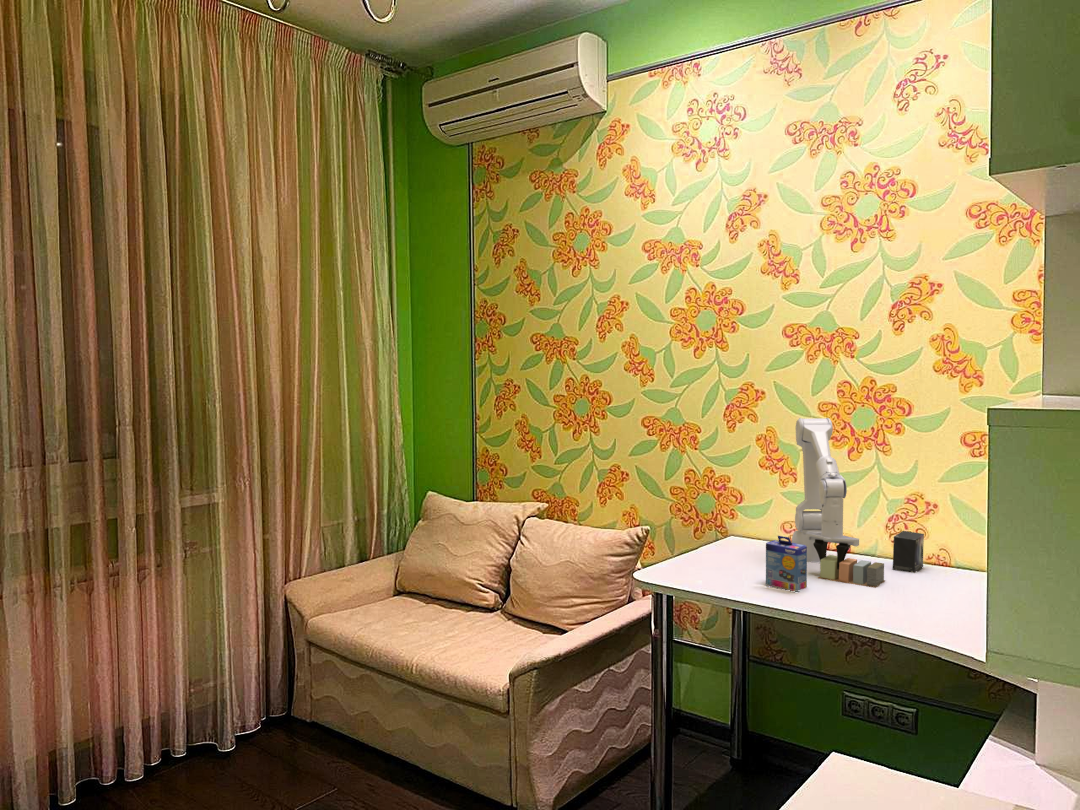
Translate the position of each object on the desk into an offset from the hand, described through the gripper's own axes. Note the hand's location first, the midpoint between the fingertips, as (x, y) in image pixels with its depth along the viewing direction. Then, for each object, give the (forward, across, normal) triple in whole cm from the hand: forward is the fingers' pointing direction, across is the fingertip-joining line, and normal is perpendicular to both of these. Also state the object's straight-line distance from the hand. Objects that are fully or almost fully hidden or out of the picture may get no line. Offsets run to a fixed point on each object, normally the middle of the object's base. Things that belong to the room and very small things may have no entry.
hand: (831, 567), depth 235 cm
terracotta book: (+2, +4, 0) cm, 5 cm away
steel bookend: (+2, +12, 0) cm, 12 cm away
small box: (+3, +14, +23) cm, 27 cm away
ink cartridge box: (+3, -6, -17) cm, 18 cm away
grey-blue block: (+2, +8, 0) cm, 9 cm away
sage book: (+2, 0, 0) cm, 2 cm away
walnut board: (+3, +6, 0) cm, 6 cm away
